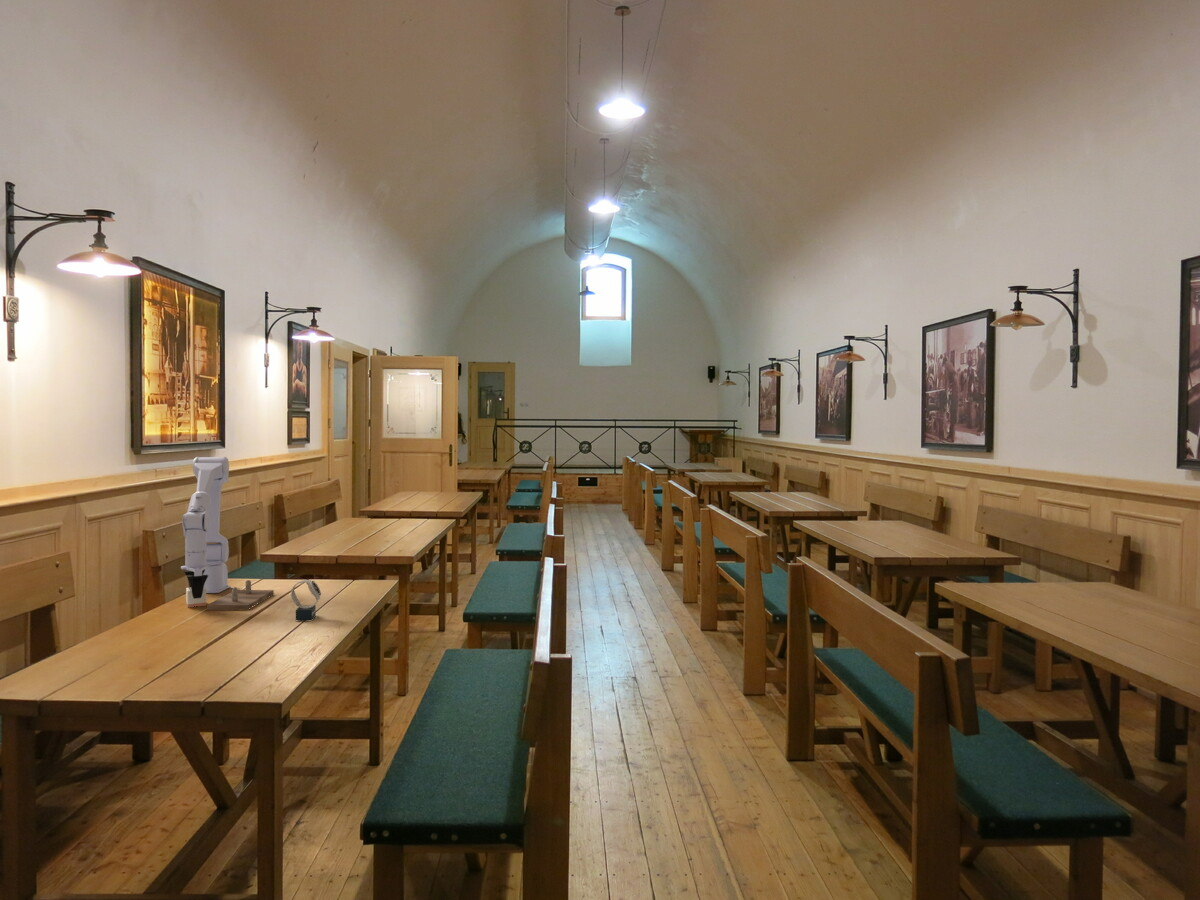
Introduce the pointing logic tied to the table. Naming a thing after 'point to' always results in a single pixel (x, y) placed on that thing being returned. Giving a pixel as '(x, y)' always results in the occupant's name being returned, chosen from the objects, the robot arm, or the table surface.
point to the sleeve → (197, 601)
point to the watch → (306, 610)
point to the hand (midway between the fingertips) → (196, 595)
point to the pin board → (240, 598)
